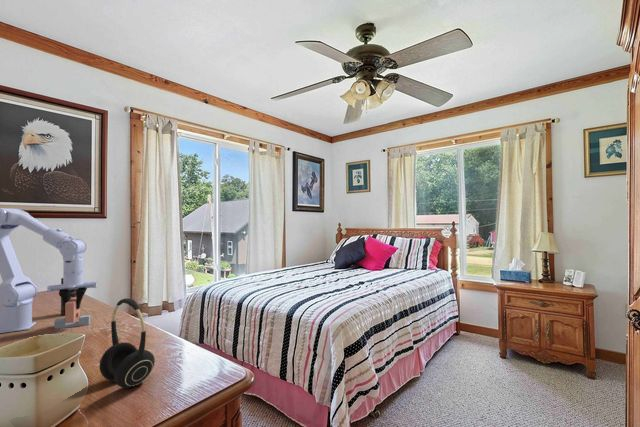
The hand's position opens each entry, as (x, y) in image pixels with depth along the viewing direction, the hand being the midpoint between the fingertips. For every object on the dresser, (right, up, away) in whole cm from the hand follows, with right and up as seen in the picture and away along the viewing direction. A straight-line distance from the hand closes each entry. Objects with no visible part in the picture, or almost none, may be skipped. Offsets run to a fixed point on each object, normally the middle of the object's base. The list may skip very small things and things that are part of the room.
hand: (73, 308), depth 115 cm
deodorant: (-14, -7, +15) cm, 22 cm away
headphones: (+46, -5, -41) cm, 61 cm away
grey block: (0, -6, 0) cm, 6 cm away
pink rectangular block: (0, -4, 0) cm, 4 cm away
